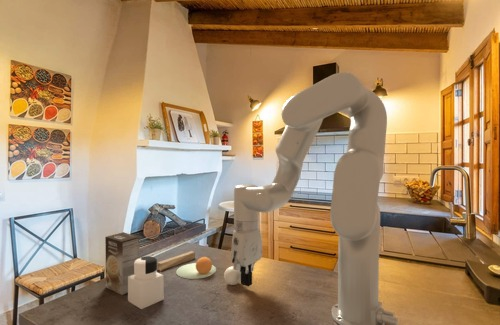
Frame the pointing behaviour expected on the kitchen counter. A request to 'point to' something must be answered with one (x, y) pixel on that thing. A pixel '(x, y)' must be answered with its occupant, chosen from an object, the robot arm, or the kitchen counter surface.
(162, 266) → the rail
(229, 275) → the cue ball
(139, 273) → the medicine bottle
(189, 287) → the kitchen counter surface
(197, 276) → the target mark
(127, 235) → the coffee box
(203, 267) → the object ball
